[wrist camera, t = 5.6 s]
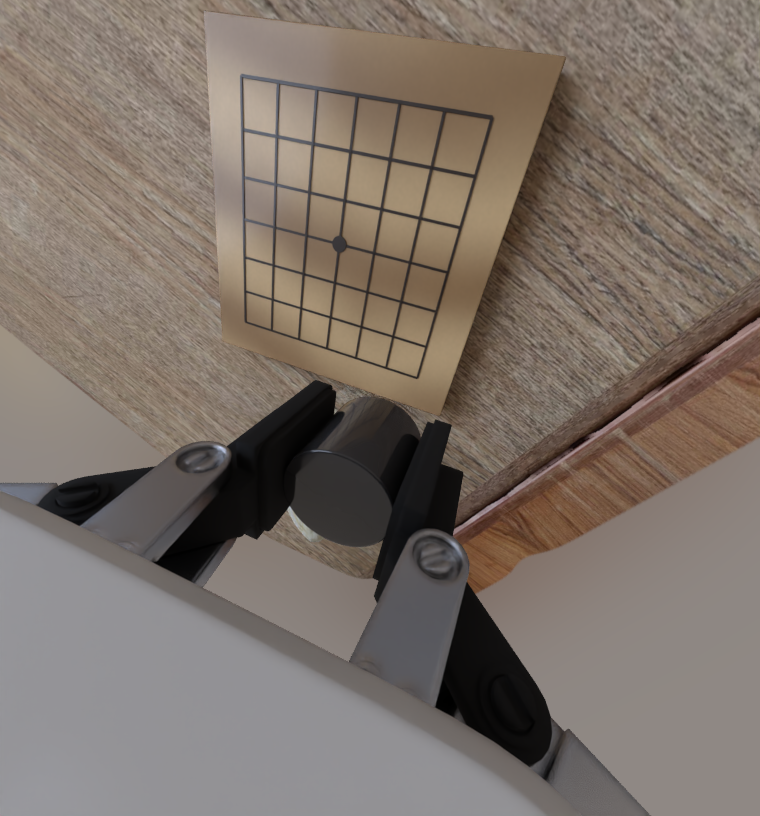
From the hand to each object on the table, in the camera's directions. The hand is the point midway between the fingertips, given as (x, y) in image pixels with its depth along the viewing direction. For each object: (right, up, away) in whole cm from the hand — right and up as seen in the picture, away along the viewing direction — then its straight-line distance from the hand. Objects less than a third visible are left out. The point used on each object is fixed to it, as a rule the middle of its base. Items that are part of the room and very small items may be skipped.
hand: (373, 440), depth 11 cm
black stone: (0, 0, 0) cm, 0 cm away
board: (-2, +13, +12) cm, 18 cm away
